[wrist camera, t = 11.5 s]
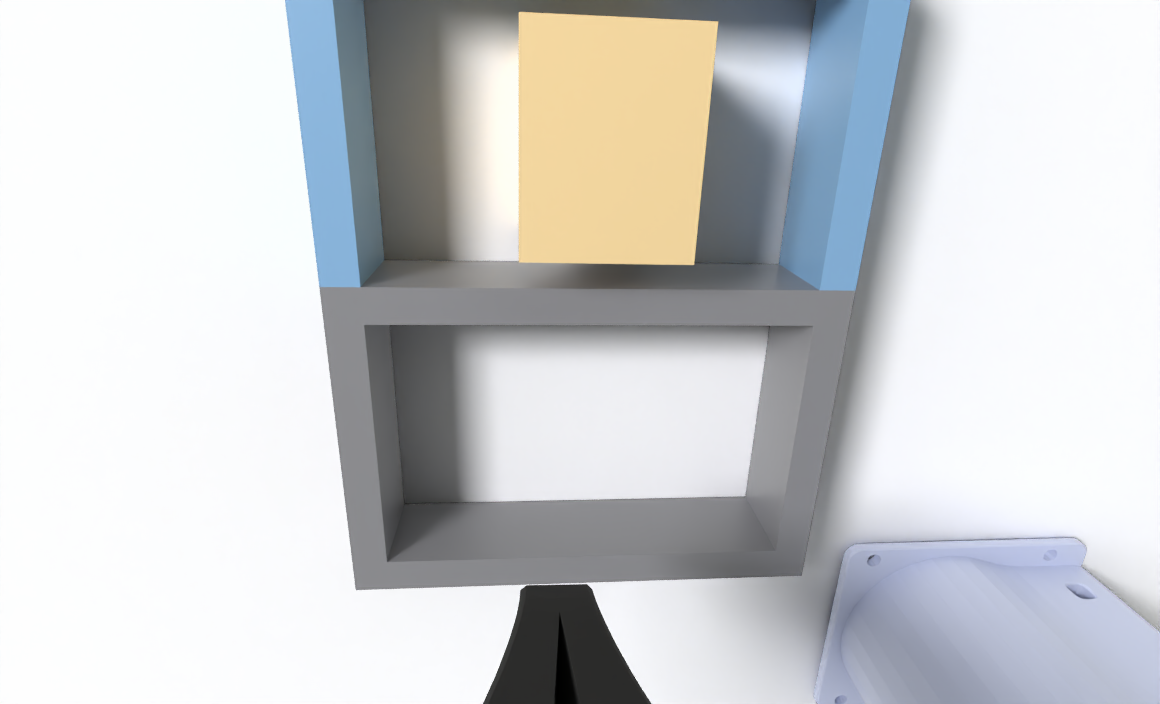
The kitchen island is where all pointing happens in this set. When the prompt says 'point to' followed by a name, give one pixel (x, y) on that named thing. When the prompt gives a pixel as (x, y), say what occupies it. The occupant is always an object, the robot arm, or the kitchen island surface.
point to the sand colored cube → (612, 137)
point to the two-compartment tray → (593, 297)
